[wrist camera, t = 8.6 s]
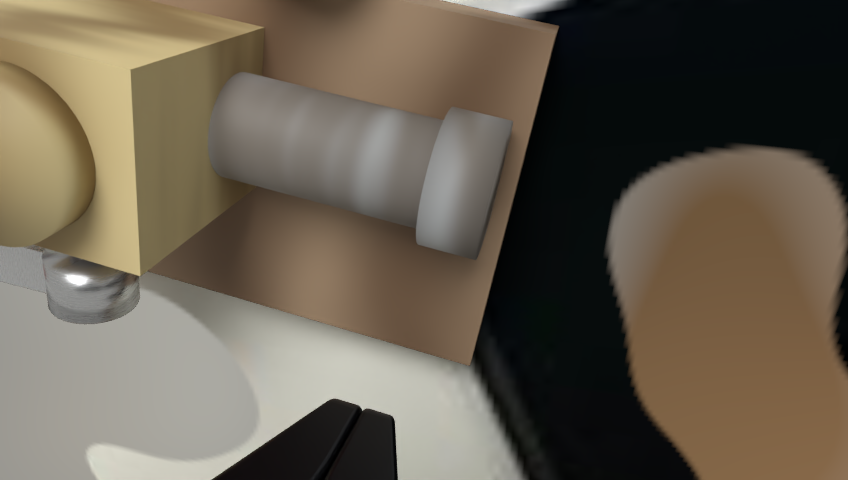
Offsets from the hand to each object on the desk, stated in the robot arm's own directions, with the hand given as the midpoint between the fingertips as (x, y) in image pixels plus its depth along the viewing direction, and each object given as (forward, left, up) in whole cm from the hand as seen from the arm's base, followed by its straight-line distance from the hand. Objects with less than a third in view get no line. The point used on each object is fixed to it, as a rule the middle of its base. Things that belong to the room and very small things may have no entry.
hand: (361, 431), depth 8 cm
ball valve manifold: (+5, +5, -13) cm, 15 cm away
